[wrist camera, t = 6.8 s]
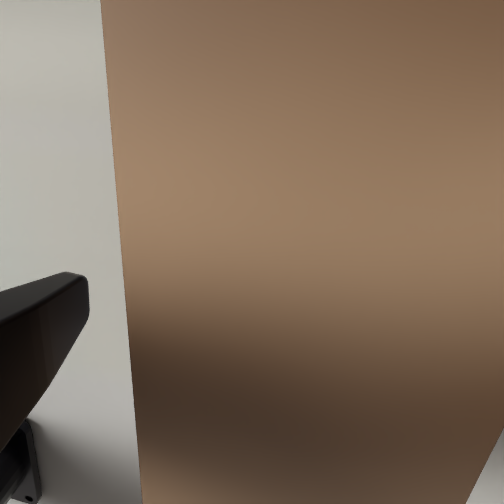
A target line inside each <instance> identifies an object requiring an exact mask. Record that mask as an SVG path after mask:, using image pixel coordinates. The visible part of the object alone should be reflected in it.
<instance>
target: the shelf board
mask: <svg viewBox="0 0 504 504" xmlns="http://www.w3.org/2000/svg"><path fill="white" fill-rule="evenodd" d="M100 1H101V13H102V25H103V37H104V49H105V61H106V73H107V85H108V97H109V109H110V121H111V133H112V145H113V157H114V169H115V181H116V193H117V204H118V216H119V228H120V240H121V252H122V264H123V276H124V288H125V300H126V312H127V324H128V336H129V348H130V360H131V372H132V384H133V396H134V408H135V420H136V432H137V444H138V456H139V468H140V480H141V492H142V504H466V502H467V500H468V498H469V496H470V494H471V492H472V490H473V488H474V486H475V484H476V482H477V480H478V478H479V476H480V474H481V472H482V470H483V468H484V466H485V464H486V462H487V460H488V458H489V456H490V454H491V452H492V450H493V448H494V446H495V444H496V442H497V440H498V438H499V436H500V434H501V432H502V430H503V428H504V0H100Z"/></svg>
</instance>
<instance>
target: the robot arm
mask: <svg viewBox="0 0 504 504" xmlns="http://www.w3.org/2000/svg"><path fill="white" fill-rule="evenodd" d="M89 311H90V308H89V289H88V281H87V278H86V277H85V276H83V275H79V274H75V273H71V272H62V273H59V274H55V275H52V276H49V277H46V278H43V279H40V280H36V281H33V282H30V283H27V284H24V285H20V286H17V287H14V288H11V289H8V290H4V291H1V292H0V504H7V502H8V501H9V500H10V498H12V499H15V500H18V501H22V502H25V503H28V504H37V503H38V501H39V500H40V498H41V496H42V492H41V486H40V480H39V474H38V467H37V461H36V455H35V449H34V443H33V437H32V431H31V427H30V425H29V424H28V423H27V422H25V421H24V420H25V419H26V417H27V416H28V414H29V413H30V412H31V410H32V409H33V408H34V406H35V405H36V404H37V402H38V401H39V400H40V398H41V397H42V395H43V394H44V392H45V391H46V390H47V388H48V387H49V385H50V384H51V382H52V380H53V379H54V377H55V375H56V374H57V372H58V370H59V369H60V367H61V365H62V363H63V362H64V360H65V358H66V357H67V355H68V353H69V351H70V350H71V348H72V346H73V345H74V343H75V341H76V339H77V338H78V336H79V334H80V333H81V331H82V329H83V327H84V326H85V324H86V322H87V320H88V317H89Z"/></svg>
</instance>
